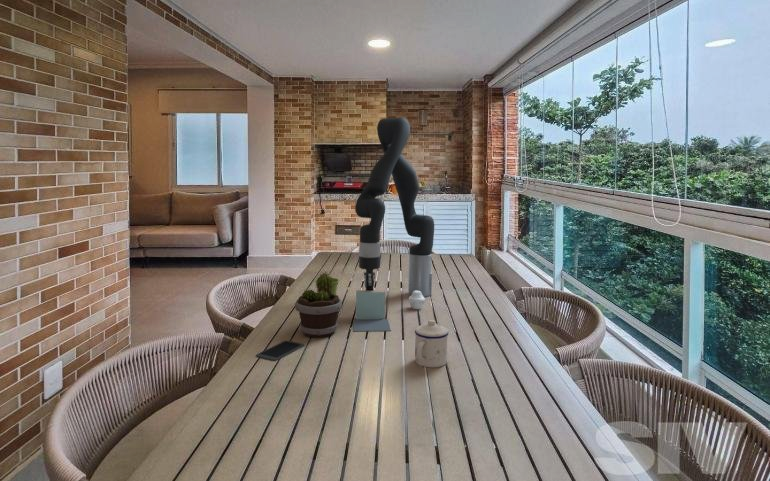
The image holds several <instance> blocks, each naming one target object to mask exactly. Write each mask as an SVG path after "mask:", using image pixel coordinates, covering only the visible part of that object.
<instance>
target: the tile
mask: <svg viewBox="0 0 770 481" xmlns="http://www.w3.org/2000/svg"><path fill="white" fill-rule="evenodd" d="M355 302H356V303H355V319H386V316H385V315H386V290H385V289H384V290H383V289H382V290H379V289H378V290H377V289H376V290H375V289H373V290H360V289H359V290H355Z"/></svg>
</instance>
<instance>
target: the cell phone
mask: <svg viewBox="0 0 770 481" xmlns="http://www.w3.org/2000/svg"><path fill="white" fill-rule="evenodd" d="M303 347H305V344H304V343H301V342H296V341H291V340H283V341H281V342H279V343H277V344H275V345H273V346H271V347H269V348H267V349H265V350H263V351H260V352H259V353H257V354H256V355H255V357H256V358H259V359H263V360H267V361H272V362H277V361H279V360H281V359H283V358H284V357H286V356H289V355H292V353H294V352H296V351H297V350H299V349H301V348H303Z"/></svg>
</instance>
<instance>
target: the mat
mask: <svg viewBox="0 0 770 481" xmlns="http://www.w3.org/2000/svg"><path fill="white" fill-rule="evenodd" d="M352 324H353V332H357V333H358V332H391V331H392V330H391V326H390V323H389V319H388V318H385V319H356V318H355V319H353V320H352Z"/></svg>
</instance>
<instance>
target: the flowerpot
mask: <svg viewBox="0 0 770 481" xmlns="http://www.w3.org/2000/svg"><path fill="white" fill-rule="evenodd" d="M323 271H324V272H323ZM323 271H321V272H320V274H319V275H317V277H316V278H315V279H314V282H315V281H316V279H317V281H316V282H317V285H316V282H315V284H314V286H315V288H316V289H315V290H313V289H311V288H310V287H308V289H306V290H305V289H303V293H302V295H301V296H299V297H298V299H297V300H296V302H295V304H294V308H295V311H297V312H298V315H299V320H300V324H299V328H300V330H301V332H303V335H304V336H306V337H309V338H310V337H311V338H317V337H320V338H325V337H330V336H332V335H334V334H335V332H336V331H337V329H338V325H339V322H338V320H337V319H338V317H339V311H340V310H342V307H343V302H342V300H341V298H340V297H339V295H338V294H336V295H334V294H332V292H331V290H332V288H331V287H332V286H333V285H331V284H332V283H333V281H334V280H331V279H330V278H334V277H333V276H331V275H330V274H329V272H328V271H327V270H326V271H325V269H324V270H323ZM331 281H332V282H331ZM317 287H318V288H317ZM315 291H316V292H315Z"/></svg>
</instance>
